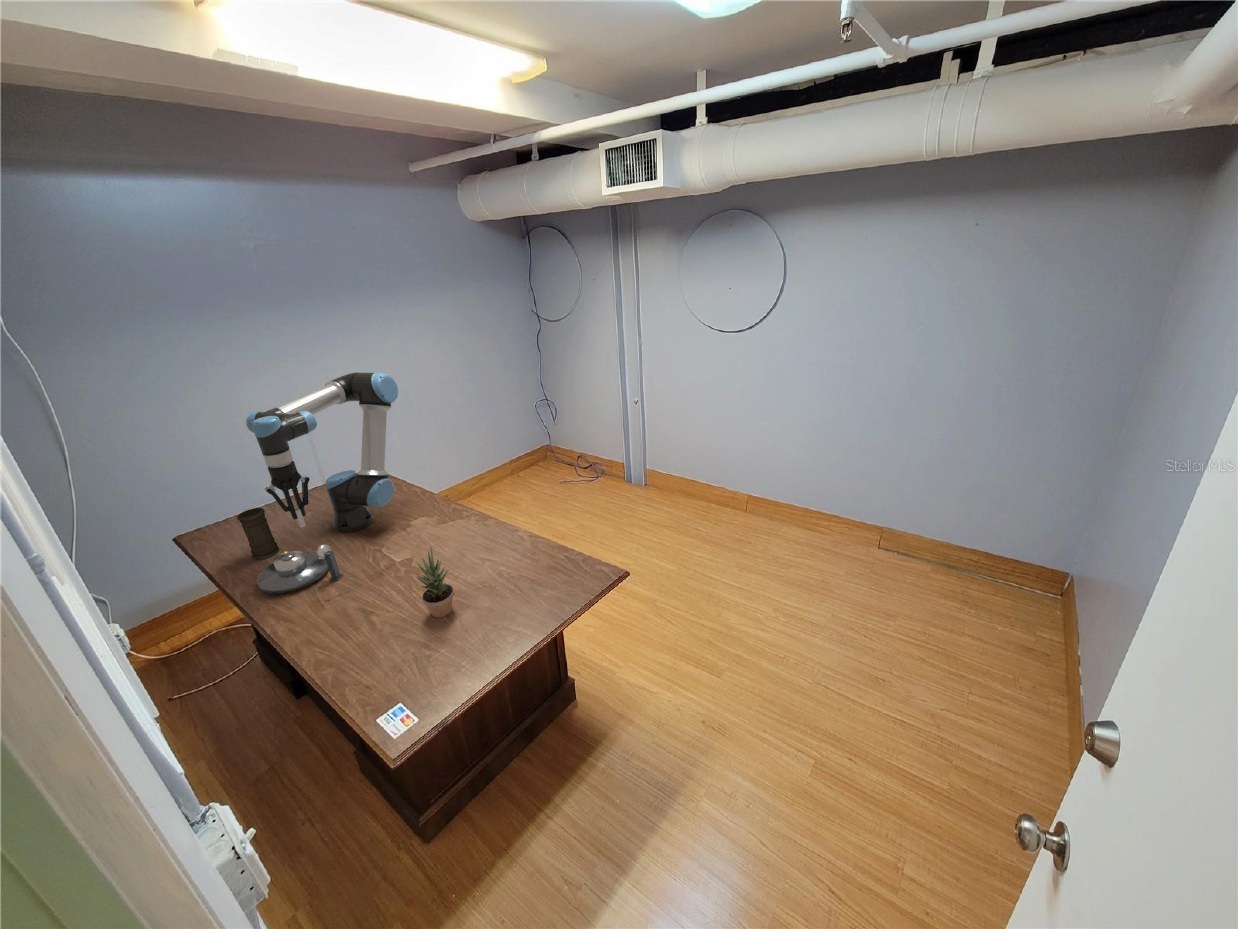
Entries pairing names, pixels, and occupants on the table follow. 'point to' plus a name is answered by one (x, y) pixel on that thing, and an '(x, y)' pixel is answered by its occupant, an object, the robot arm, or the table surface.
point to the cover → (290, 564)
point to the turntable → (275, 584)
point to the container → (258, 533)
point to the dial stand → (329, 561)
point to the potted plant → (436, 588)
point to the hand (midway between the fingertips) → (302, 525)
